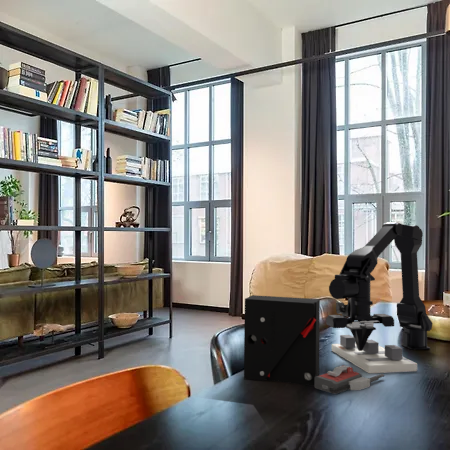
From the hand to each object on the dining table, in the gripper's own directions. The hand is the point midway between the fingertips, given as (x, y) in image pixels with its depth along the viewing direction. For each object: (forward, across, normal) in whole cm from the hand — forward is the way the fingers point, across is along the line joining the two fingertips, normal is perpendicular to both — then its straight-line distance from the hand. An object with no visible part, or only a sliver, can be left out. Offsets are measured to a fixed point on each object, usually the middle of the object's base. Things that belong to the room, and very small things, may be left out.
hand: (360, 350), depth 133 cm
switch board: (+3, -3, 0) cm, 4 cm away
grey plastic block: (0, +1, -7) cm, 7 cm away
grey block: (0, -3, 0) cm, 3 cm away
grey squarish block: (0, -6, +7) cm, 10 cm away
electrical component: (+3, +27, +13) cm, 30 cm away
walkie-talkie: (+3, +13, +20) cm, 23 cm away
